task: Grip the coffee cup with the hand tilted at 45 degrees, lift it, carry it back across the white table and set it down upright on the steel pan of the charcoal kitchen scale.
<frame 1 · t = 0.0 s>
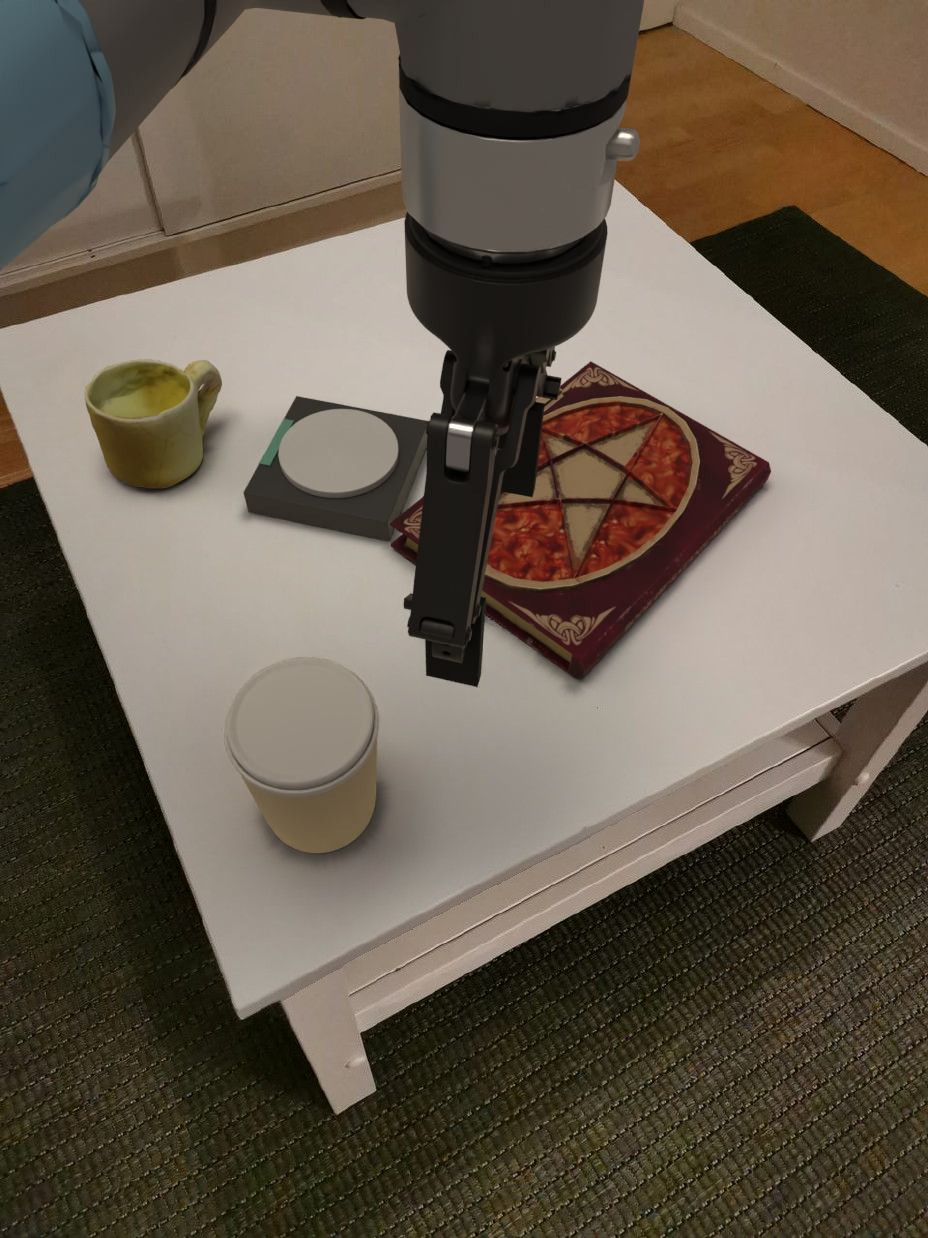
hand: (484, 575, 51), 21 cm above the table, tool pointing down, fingers open, 13 cm apart
coffee cup: (321, 803, 65), on the table
mug: (175, 451, 85), on the table
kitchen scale: (341, 475, 84), on the table
book: (580, 516, 82), on the table
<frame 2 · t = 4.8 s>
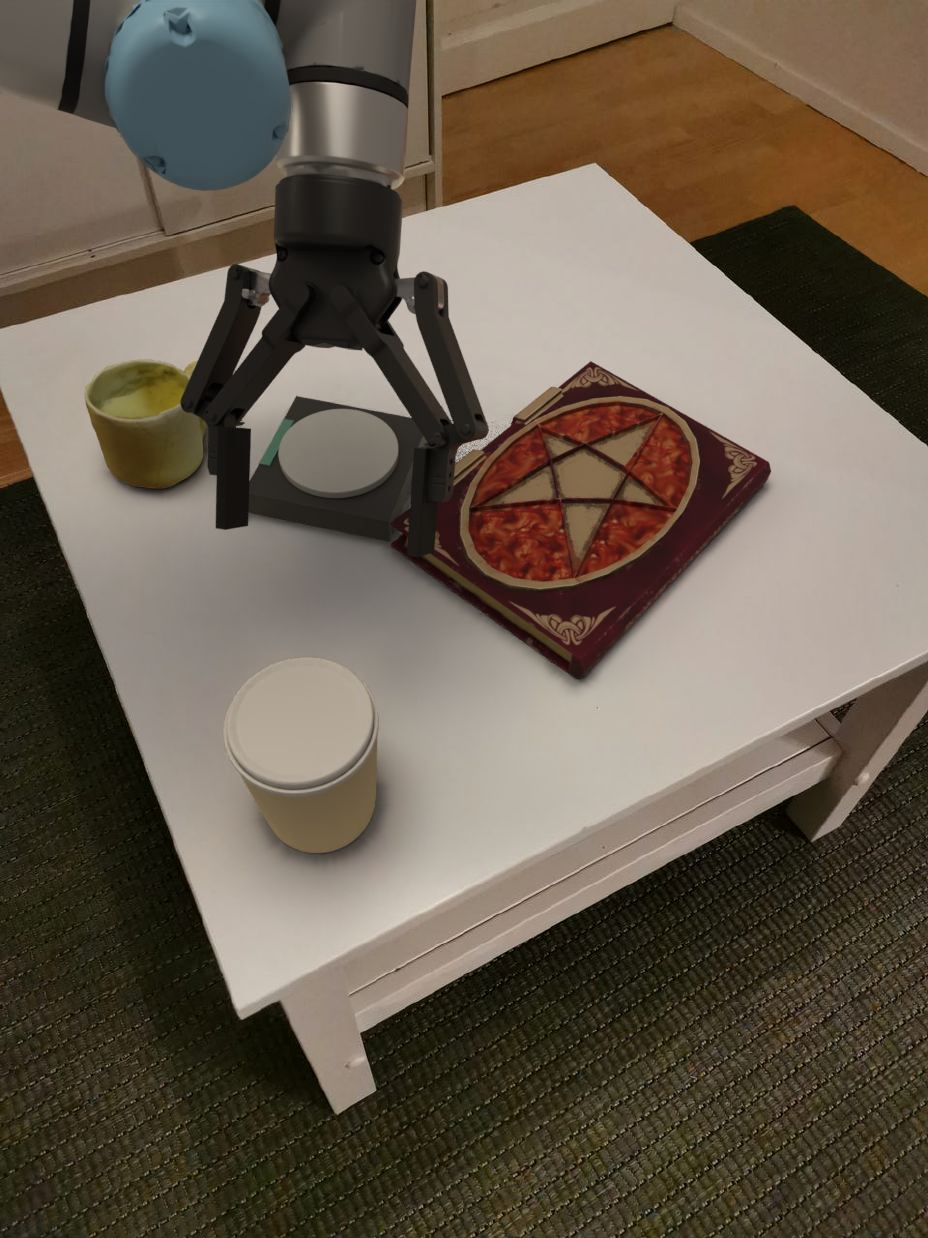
hand: (323, 540, 59), 15 cm above the table, tool tilted 40°, fingers open, 13 cm apart
nothing on the table moved.
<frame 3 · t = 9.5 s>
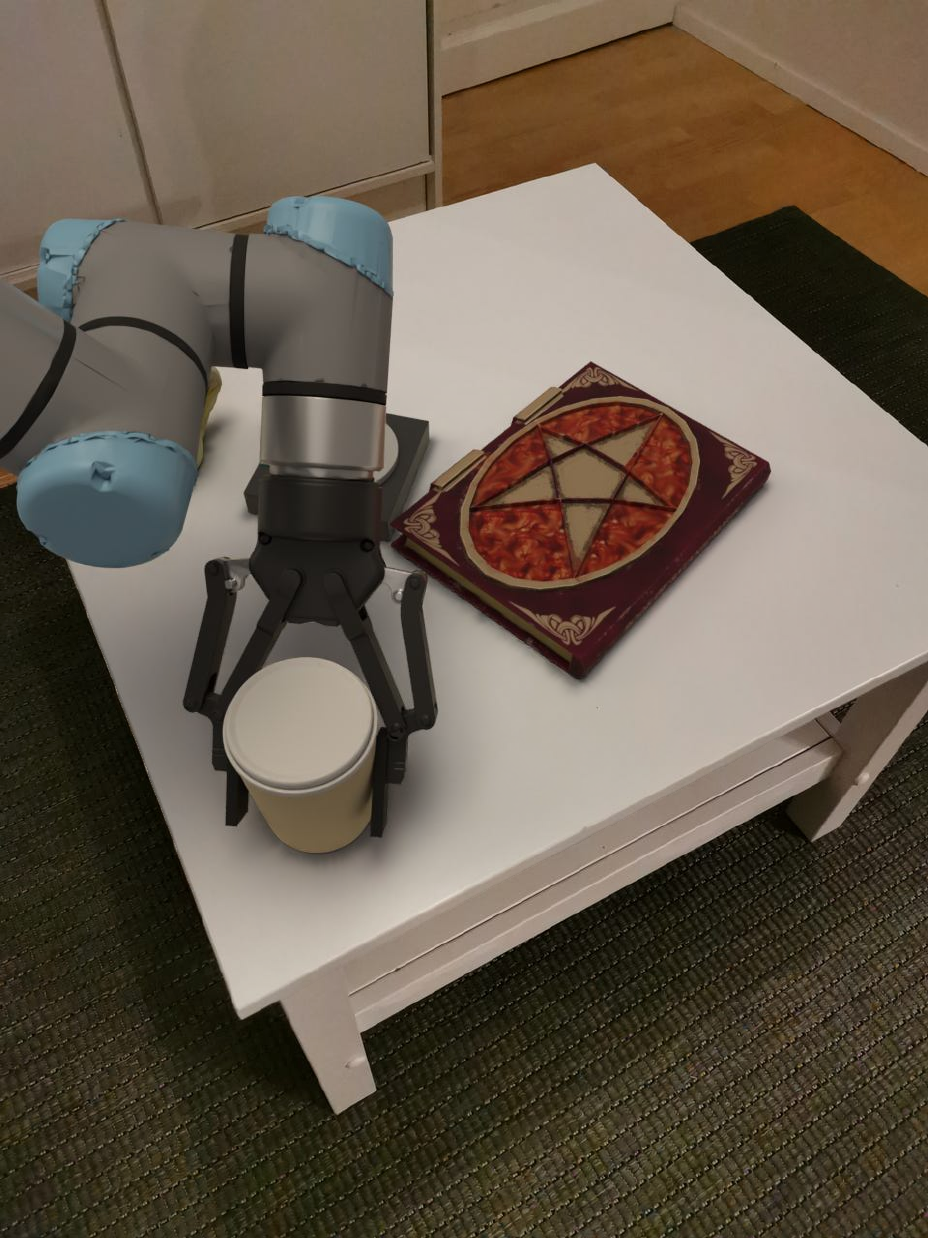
hand: (307, 823, 60), 4 cm above the table, tool tilted 45°, fingers closed on coffee cup, 9 cm apart
coffee cup: (321, 803, 65), on the table, touching gripper
everything else where it was.
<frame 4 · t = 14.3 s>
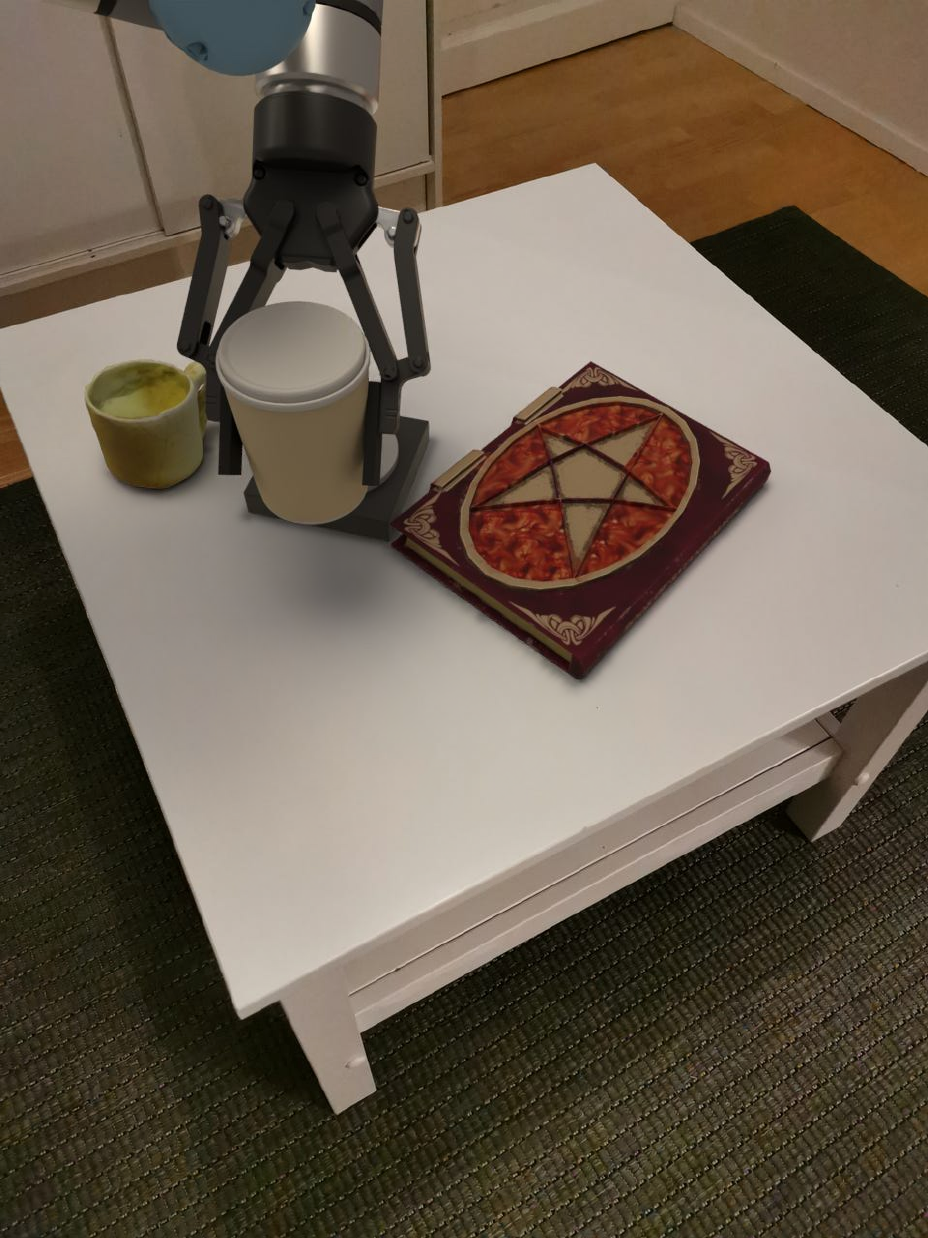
hand: (300, 479, 60), 17 cm above the table, tool tilted 45°, fingers closed on coffee cup, 9 cm apart
coffee cup: (315, 486, 65), point 13 cm above the table, touching gripper
everything else where it was.
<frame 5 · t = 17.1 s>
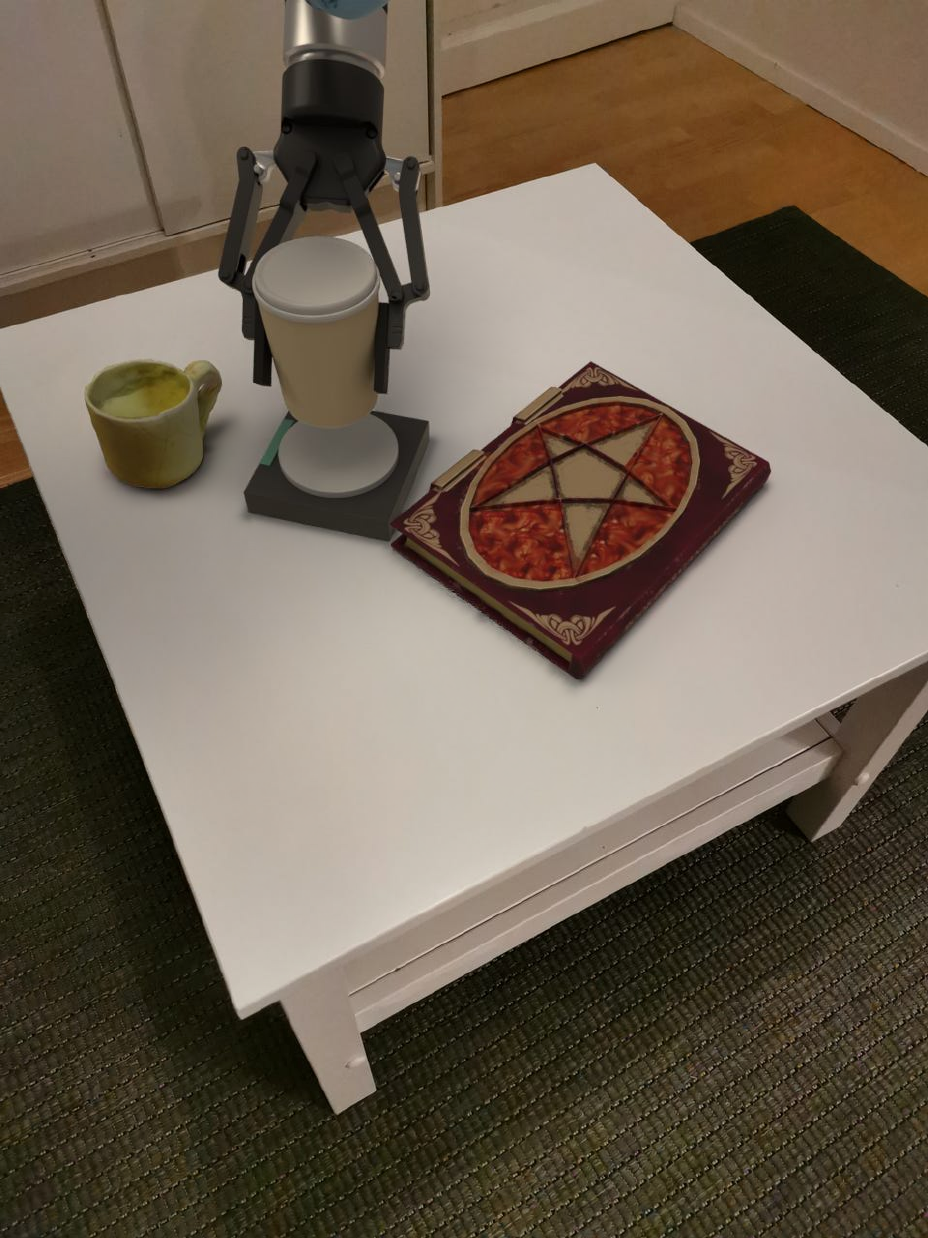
hand: (321, 388, 72), 13 cm above the table, tool tilted 45°, fingers closed on coffee cup, 9 cm apart
coffee cup: (332, 399, 77), point 9 cm above the table, touching gripper
everything else where it was.
when the fingers open (7 cm above the table, at t = 19.2 s): coffee cup stays where it is, resting on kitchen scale.
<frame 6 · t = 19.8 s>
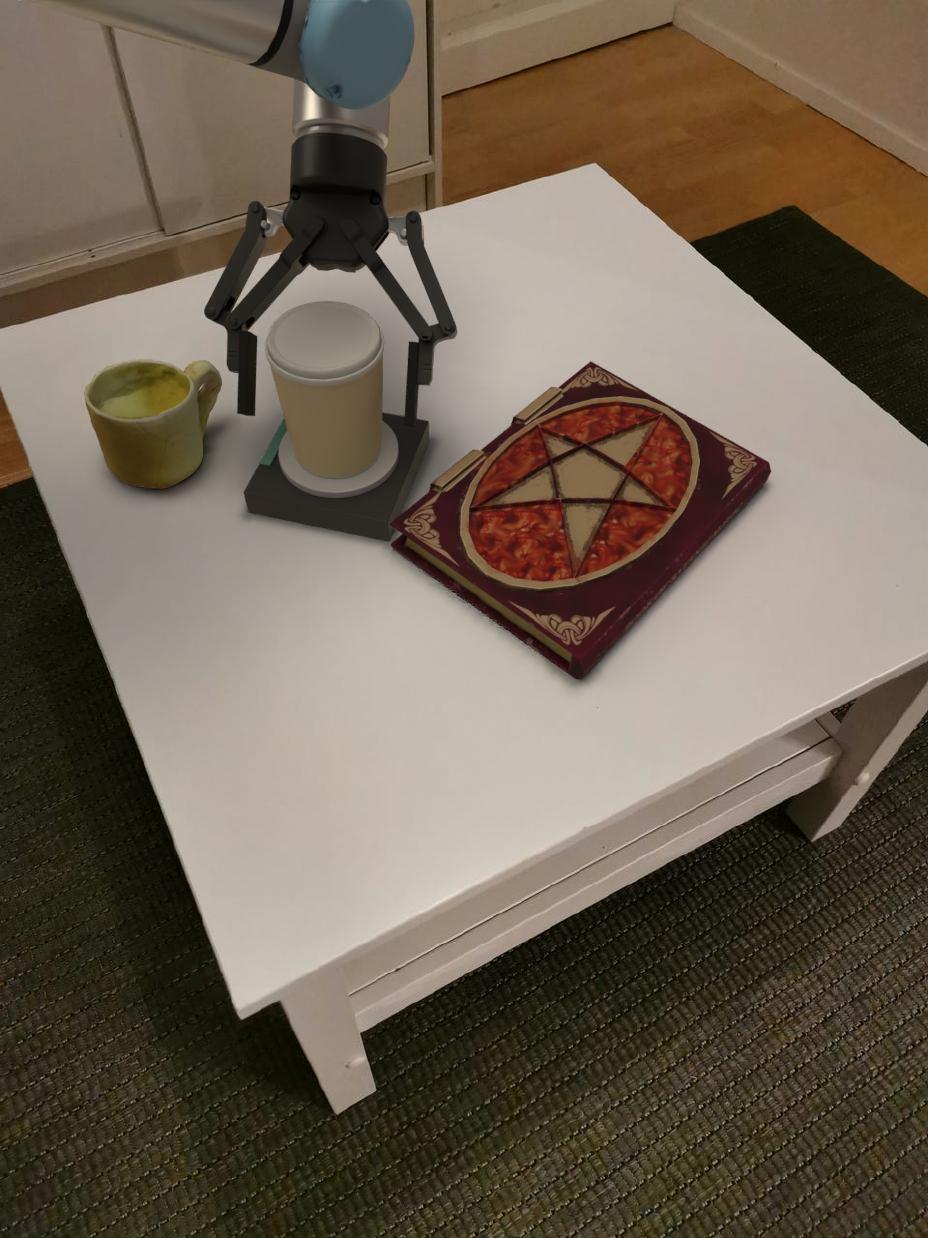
hand: (328, 420, 75), 9 cm above the table, tool tilted 45°, fingers open, 13 cm apart
coffee cup: (338, 449, 81), point 3 cm above the table, touching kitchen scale
everything else where it was.
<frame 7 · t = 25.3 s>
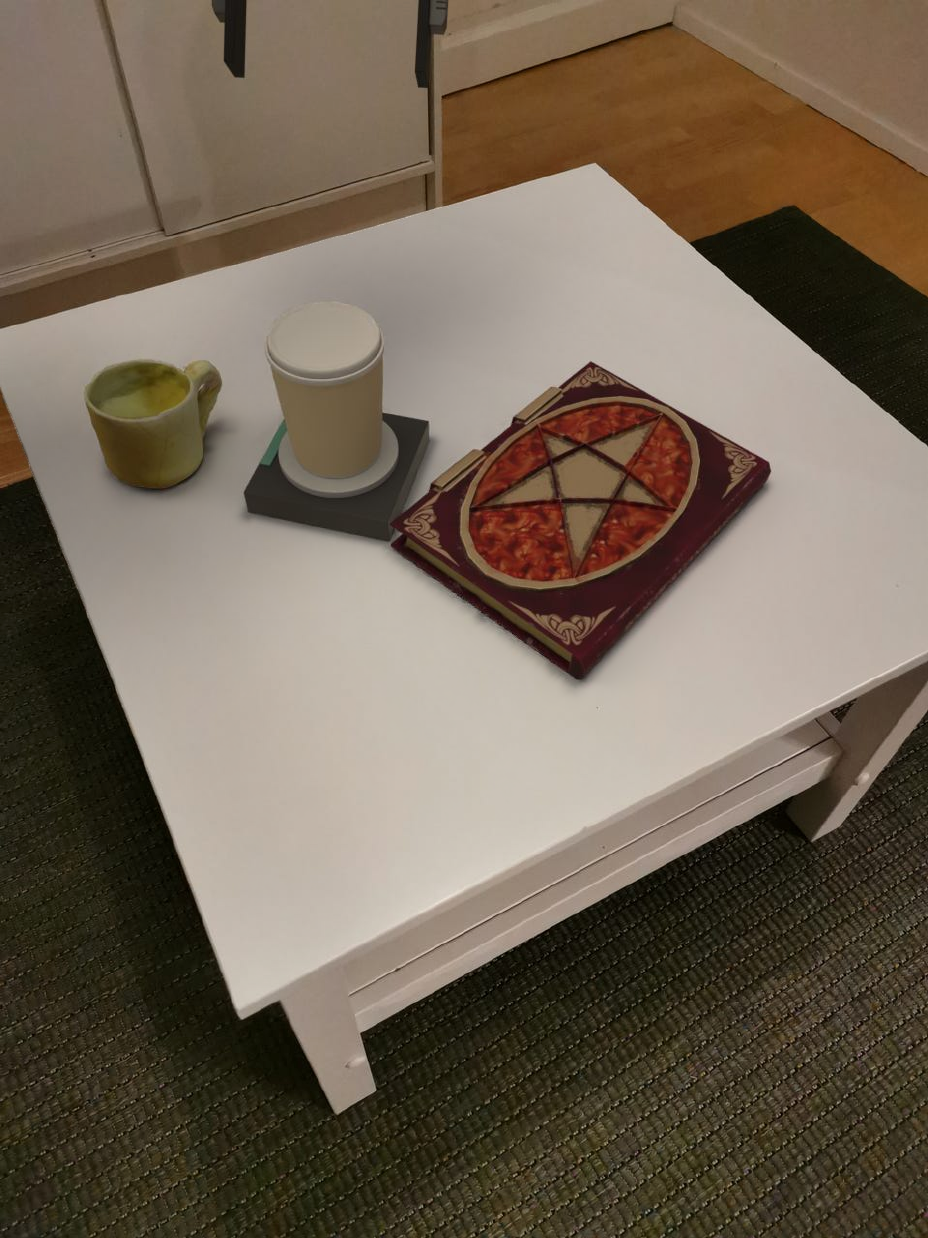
hand: (327, 75, 66), 30 cm above the table, tool tilted 45°, fingers open, 13 cm apart
nothing on the table moved.
at the end: coffee cup inside the target area on the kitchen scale (0.1 cm from its centre), point 3.1 cm above the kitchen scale's base; coffee cup tilted 0°; the gripper is holding nothing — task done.
